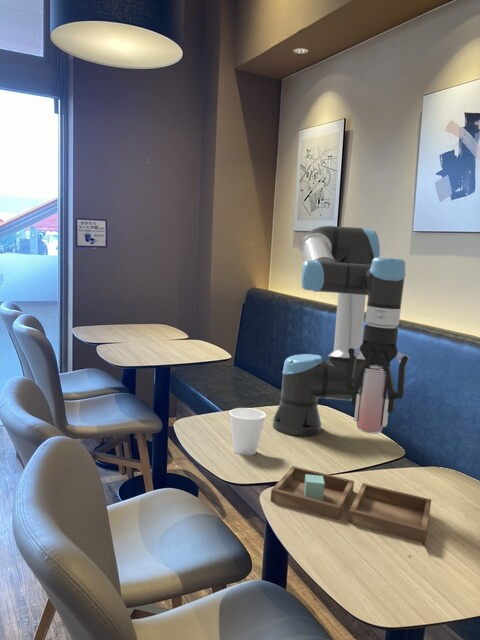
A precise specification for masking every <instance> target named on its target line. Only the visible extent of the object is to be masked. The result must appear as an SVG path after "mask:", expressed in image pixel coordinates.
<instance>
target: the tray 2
mask: <svg viewBox="0 0 480 640" xmlns="http://www.w3.org/2000/svg"><path fill="white" fill-rule="evenodd" d="M431 504H432V499H430V498H426V497H424V496H417V495H416V494H415V495H414V494H409V493H406V492H403V491H402V492H401V491H397V490H395V489H393V490H392V489H389V488H385V487H381V486H377V485H373V484H369V483H364V482H362V483H361V485H360V488H359V490H358V492H357V494H356V496H355V498H354V500H353V502H352V504H351V506H350V508H349V510H348V519H347V522H348V523H350V524H353V525H357V526H361V527H364V528H368V529H372V530H376V531H378V532H383V533H387V534H390V535H394V536H398V537H401V538H405V539H408V540H412V541H415V542H419V543H421V544H422V545H423V546H425V543H426V538H427V532H428V525H429V519H430V512H431V507H432V505H431Z"/></svg>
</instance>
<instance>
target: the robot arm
mask: <svg viewBox="0 0 480 640" xmlns="http://www.w3.org/2000/svg"><path fill="white" fill-rule="evenodd" d="M299 253H300V256H301V258H302V259H303V260H304V262H303V263H302V269H301V278H300V281H301V282H300V283H301V288H302V289H303V290H305V291H310V292H311V291H312V292H313V293H314V292H315V293H317V292H319V293H320V292H321V293H333V294H336V293H337V301H336V302H337V304H336V305H337V306H336V316H335V317H336V318H335V330H334V331H335V332H334V341H333V342H334V344H333V351H331V353H329V354H328V360H323V356H321V355H319V354H312V353H303V354H300V353H299V354H294V355H291V356H289V357H287V358H286V359H285V360H284V363H283V370H282V380H281V381H282V382H281V392H280V402H279V405H278V406H277V408H276V409H277V410H276V412H275V413H274V415H273V419H272V421H273V422H272V428H274V429H275V430H276V431H279V432H281V433H283V434H287V435H291V436H300V437H301V436H303V437H305V436H306V437H307V436H309V437H310V436H315V435H318V434H319V433H321V430H322V429H321V428H322V422H321V417H320V416H321V415H320V413H319V412H320V411H319V409H318V401H319V399H327V400H328V399H329V400H339V401H340V400H341V401H347V402H350V401H351V406H352V407H354V408H355V409H354V417H353V422H357V420H358V411H359V402H360V390H361V383H362V376H363V371H364V369H365V368H369V367H370V365H374V366H381V367H383V371H387V372H386V374H387V380H386V386H387V395H388V396H386V399H385V405H384V414H383V423H382V427H383V428H386V427H387V425H388V419H389V418H388V417H389V413H390V414H392V413H393V412H394V410H395V401H396V400H397V399H398V400H399V399H402V398H403V397H404V395H405V381H406V368H407V367H406V365H407V363H408V361H409V359H410V355H408V354H403V353H401V352H399V350H398V346H397V344H398V343H397V342H398V334H399V329H398V326H399V325H400V318H401V310H402V309H401V308H402V301H403V293H404V285H405V284H404V283H405V278H406V274H407V273H406V262H405V260H404V259H402V258H389V257H380V256H381V255H380V254H381V248H380V239H379V236H378V234H377V232H376V231H375V230H373V229H370V228H369V229H368V228H363V227H353V226H351V227H350V226H335V225H334V226H333V225H323V226H319V227H316V228H313V229H311V230H309V231H308V232H307V233H305V234H304V235H303V237H302V238H301V239H300V242H299ZM366 296H367V299H366ZM366 300H367V303H366ZM365 307H366V308H365ZM365 310H366V311H365ZM364 323H366V324H364ZM395 357H396V358H397V362H398V374H397V375H398V377H397V378H398V379H397V391H395V384H394V380H393V374H392V368H391V362H392V361H393V359H395ZM364 367H365V368H364Z"/></svg>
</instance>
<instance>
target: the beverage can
mask: <svg viewBox="0 0 480 640" xmlns="http://www.w3.org/2000/svg"><path fill="white" fill-rule="evenodd" d="M364 368H365V367H364ZM386 372H387V371H383V367H382V366H378V365H370V367H369V368H365V369H364V371H363V376H362V383H361V390H360V402H359V411H358V420H357V421H356V427H357V429H358V430H359V431H360V432H363V433H366V434H370V435H377V434H380V433H381V432H382V431H383V428H384V427H382V423H383V414H384V405H385V399H386V397H388V396H387V395H388V391H387V386H386V380H387V374H386Z"/></svg>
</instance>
